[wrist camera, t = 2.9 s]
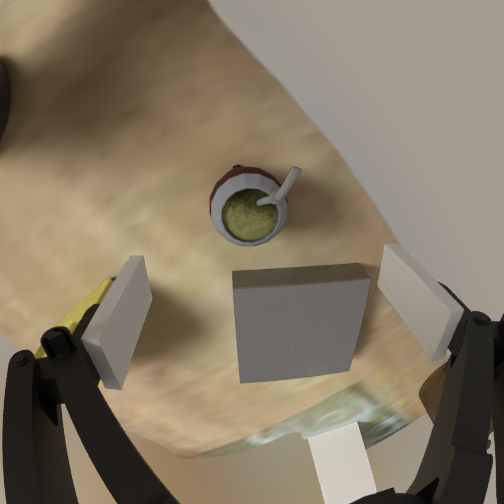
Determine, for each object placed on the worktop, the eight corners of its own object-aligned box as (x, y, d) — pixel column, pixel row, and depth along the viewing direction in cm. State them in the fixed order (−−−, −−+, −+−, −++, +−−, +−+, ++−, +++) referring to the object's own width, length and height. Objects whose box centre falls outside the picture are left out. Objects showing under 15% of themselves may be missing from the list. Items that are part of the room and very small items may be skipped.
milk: (360, 440, 60) (387, 524, 36) (317, 454, 61) (336, 540, 38) (357, 421, 55) (389, 519, 31) (307, 437, 56) (329, 538, 32)
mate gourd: (226, 231, 33) (225, 314, 20) (199, 165, 30) (175, 209, 16) (289, 209, 33) (331, 279, 19) (267, 141, 29) (300, 164, 16)
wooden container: (422, 407, 57) (455, 475, 37) (414, 383, 51) (456, 464, 31) (469, 374, 54) (509, 436, 34) (469, 344, 48) (521, 416, 28)
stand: (232, 271, 36) (232, 289, 32) (358, 263, 36) (371, 279, 33) (239, 363, 43) (240, 383, 39) (341, 352, 43) (349, 370, 40)
